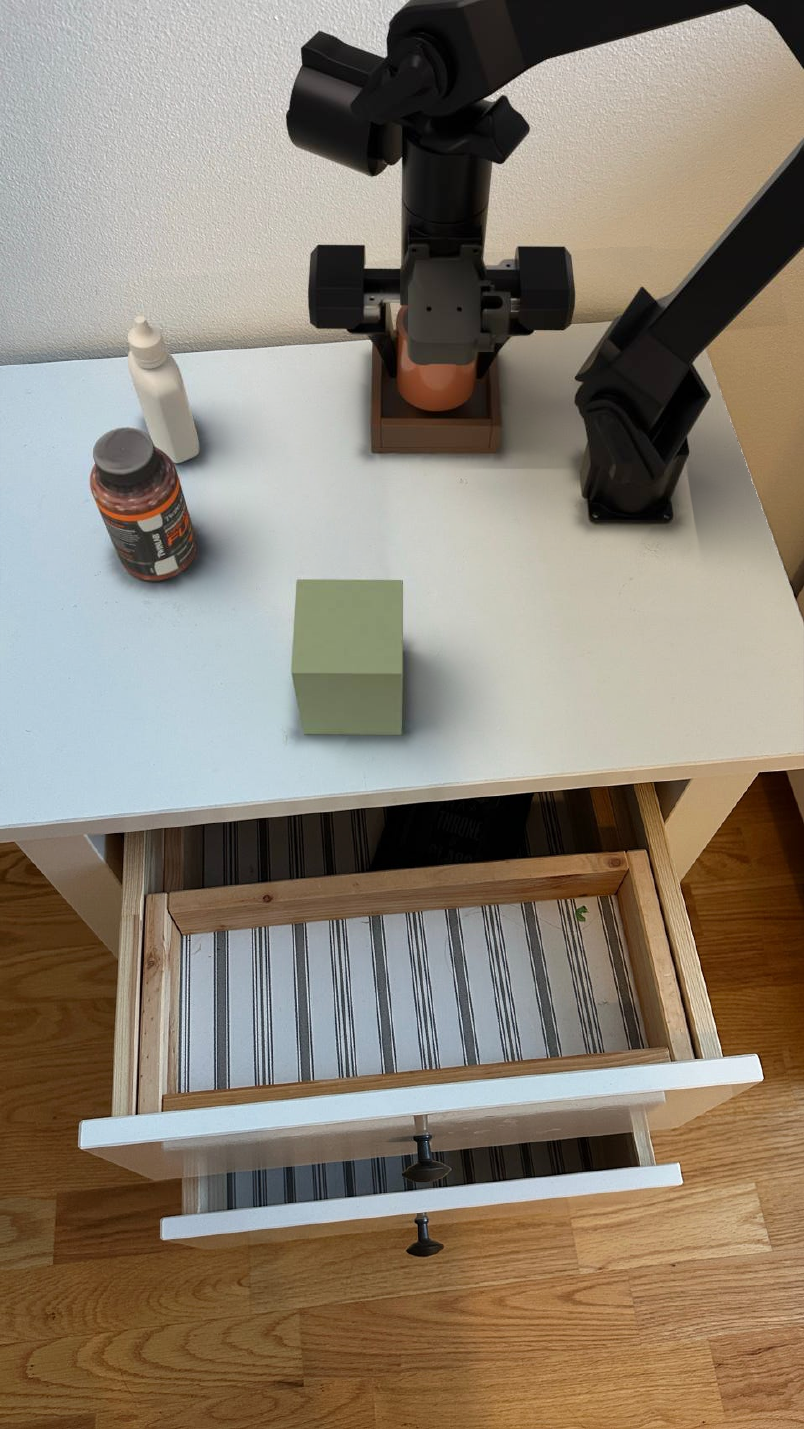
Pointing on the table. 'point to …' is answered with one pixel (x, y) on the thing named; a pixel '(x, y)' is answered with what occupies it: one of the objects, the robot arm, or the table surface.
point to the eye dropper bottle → (161, 393)
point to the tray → (434, 418)
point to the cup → (431, 376)
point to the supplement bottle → (142, 505)
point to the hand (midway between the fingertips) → (436, 374)
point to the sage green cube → (348, 656)
